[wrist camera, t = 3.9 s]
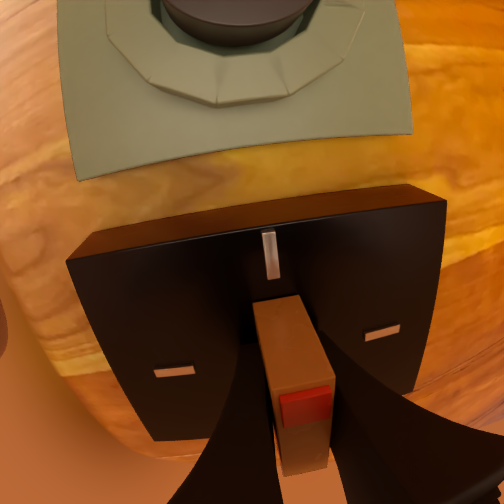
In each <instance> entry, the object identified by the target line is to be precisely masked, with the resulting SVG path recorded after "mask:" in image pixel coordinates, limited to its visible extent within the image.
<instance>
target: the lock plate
mask: <svg viewBox="0 0 504 504" xmlns="http://www.w3.org/2000/svg"><path fill="white" fill-rule="evenodd" d="M446 212H447V200H445V199H443V198H441V197H438V196H436V195H434V194H431V193H429V192H427V191H424V190H422V189H420V188H417V187H415V186H412V185H410V184H402V185H392V186H383V187H373V188H364V189H356V190H347V191H339V192H331V193H323V194H315V195H307V196H300V197H293V198H286V199H279V200H272V201H265V202H258V203H252V204H245V205H239V206H233V207H226V208H220V209H214V210H208V211H202V212H197V213H191V214H185V215H180V216H174V217H169V218H163V219H158V220H153V221H147V222H142V223H137V224H132V225H127V226H122V227H117V228H112V229H107V230H103V231H98V232H93V233H92V234H91V235H90V236H89V237H88V238H87V239H86V240H85V241H84V242H83V243H82V244H81V245H80V246H79V247H78V248H77V249H76V250H75V251H74V252H73V253H72V254H71V255H70V256H69V257H68V258H67V260H66V265H67V268H68V270H69V273H70V276H71V279H72V281H73V284H74V286H75V289H76V292H77V294H78V297H79V299H80V302H81V304H82V306H83V309H84V311H85V314H86V316H87V318H88V320H89V323H90V325H91V327H92V329H93V332H94V334H95V336H96V338H97V340H98V342H99V345H100V347H101V349H102V351H103V353H104V355H105V357H106V359H107V361H108V363H109V365H110V367H111V369H112V371H113V373H114V374H115V376H116V378H117V380H118V382H119V384H120V386H121V387H122V389H123V391H124V393H125V395H126V396H127V398H128V400H129V402H130V403H131V405H132V407H133V408H134V410H135V412H136V413H137V415H138V417H139V418H140V420H141V422H142V423H143V425H144V426H145V428H146V430H147V431H148V433H149V434H150V436H151V437H152V439H153V440H154V441H178V440H193V439H205V438H210V437H211V435H212V433H213V431H214V429H215V427H216V424H217V422H218V420H219V417H220V415H221V412H222V410H223V407H224V405H225V402H226V399H227V396H228V393H229V390H230V386H231V383H232V380H233V376H234V372H235V367H236V362H237V355H238V348H239V347H240V346H241V345H245V344H252V343H258V336H257V329H256V323H255V316H254V310H253V303H255V302H261V301H267V300H273V299H278V298H284V297H289V296H295V295H299V296H300V299H301V301H302V303H303V305H304V307H305V309H306V312H307V314H308V316H309V318H310V320H311V323H312V325H313V327H314V329H315V331H321V330H322V331H324V332H325V333H326V334H327V335H328V336H329V337H330V338H331V339H332V340H333V341H334V342H335V343H336V344H337V345H338V346H339V347H340V348H341V349H342V350H344V351H345V352H346V353H347V354H348V355H349V356H350V357H351V358H352V359H353V360H355V361H356V362H357V363H358V364H359V365H360V366H362V367H363V368H364V369H365V370H366V371H368V372H369V373H370V374H371V375H373V376H374V377H375V378H377V379H378V380H379V381H381V382H382V383H383V384H385V385H386V386H387V387H389V388H390V389H392V390H393V391H395V392H396V393H398V394H399V395H401V396H402V395H405V394H407V393H410V392H412V391H413V389H414V386H415V382H416V379H417V376H418V372H419V369H420V365H421V362H422V358H423V354H424V350H425V346H426V342H427V338H428V334H429V329H430V325H431V320H432V315H433V310H434V305H435V300H436V294H437V288H438V282H439V276H440V269H441V262H442V254H443V245H444V236H445V225H446Z"/></svg>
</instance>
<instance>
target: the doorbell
mask: <svg viewBox="0 0 504 504" xmlns="http://www.w3.org/2000/svg"><path fill="white" fill-rule="evenodd" d="M57 35H58V55H59V68H60V79H61V89H62V97H63V105H64V112H65V119H66V125H67V132H68V137H69V143H70V148H71V154H72V159H73V164H74V168H75V173H76V178H77V181H79V182H80V181H84V180H88V179H91V178H95V177H99V176H103V175H107V174H111V173H115V172H119V171H123V170H127V169H131V168H136V167H140V166H145V165H149V164H154V163H159V162H163V161H168V160H173V159H179V158H184V157H189V156H195V155H200V154H206V153H212V152H218V151H224V150H231V149H238V148H244V147H252V146H259V145H267V144H275V143H284V142H293V141H303V140H314V139H326V138H340V137H357V136H379V135H412V134H413V122H412V109H411V98H410V89H409V80H408V72H407V65H406V58H405V52H404V46H403V40H402V35H401V29H400V24H399V19H398V15H397V10H396V6H395V2H394V0H313V1H312V2H311V4H310V5H309V6H308V7H307V8H306V9H305V10H304V12H303V13H302V14H301V15H300V16H299V17H298V19H297V20H296V21H295V22H294V23H293V25H291V26H290V27H289V28H288V29H287V30H286V31H284V32H283V33H281V34H280V35H278V36H276V37H274V38H272V39H270V40H268V41H265V42H262V43H258V44H254V45H248V46H238V47H230V46H220V45H214V44H210V43H206V42H203V41H201V40H198V39H196V38H194V37H192V36H190V35H188V34H187V33H185V32H184V31H182V30H181V29H180V28H179V27H178V26H177V25H176V24H175V23H174V22H173V21H172V20H171V18H170V17H169V15H168V13H167V12H166V10H165V7H164V5H163V3H162V1H161V0H57Z"/></svg>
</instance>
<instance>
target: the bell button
mask: <svg viewBox="0 0 504 504" xmlns="http://www.w3.org/2000/svg"><path fill="white" fill-rule="evenodd" d="M161 1H162V3H163V5H164V7H165V10H166V12H167V13H168V15H169V17H170V18H171V20H172V21H173V22H174V23H175V24H176V25H177V26H178V27H179V28H180V29H181V30H182V31H184V32H185V33H187V34H188V35H190V36H192V37H194V38H196V39H198V40H201V41H203V42H206V43H210V44H214V45H220V46H230V47H238V46H248V45H254V44H258V43H262V42H265V41H268V40H270V39H272V38H274V37H276V36H278V35H280V34H281V33H283V32H284V31H286V30H287V29H288V28H289V27H290V26H291V25H293V23H294V22H295V21H296V20H297V19H298V17H299V16H300V15H301V14H302V13H303V12H304V10H305V9H306V8H307V7H308V6H309V5H310V4H311V2H312V1H313V0H161Z"/></svg>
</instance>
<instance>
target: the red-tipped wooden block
mask: <svg viewBox="0 0 504 504" xmlns="http://www.w3.org/2000/svg"><path fill="white" fill-rule="evenodd" d="M253 310H254V316H255V323H256V329H257V336H258V342H259V345H260V350H261V354H262V359H263V363H264V370H265V376H266V382H267V389H268V395H269V402H270V408H271V415H272V421H273V429H274V434H275V439H276V444H277V449H278V454H279V459H280V464H281V468H282V473H283V476H284V477H287V476H292V475H297V474H302V473H306V472H311V471H315V470H319V469H323V468H327V465H328V457H329V448H330V439H331V429H332V418H333V406H334V392H335V377H336V376H335V374H334V372H333V369H332V367H331V365H330V363H329V360H328V358H327V356H326V354H325V351H324V349H323V347H322V345H321V343H320V340H319V338H318V336H317V334H316V331H315V329H314V327H313V325H312V323H311V320H310V318H309V316H308V314H307V312H306V309H305V307H304V305H303V303H302V301H301V299H300V296H299V295H295V296H289V297H284V298H278V299H273V300H267V301H261V302H255V303H253Z"/></svg>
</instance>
